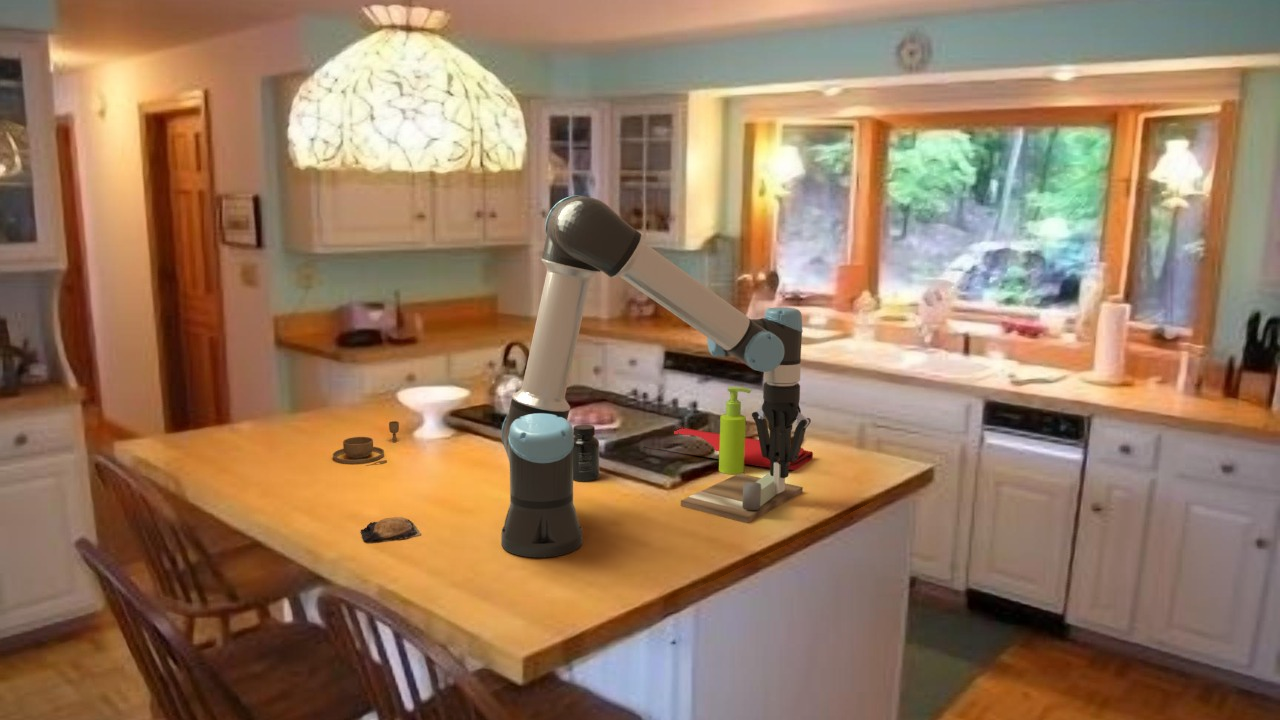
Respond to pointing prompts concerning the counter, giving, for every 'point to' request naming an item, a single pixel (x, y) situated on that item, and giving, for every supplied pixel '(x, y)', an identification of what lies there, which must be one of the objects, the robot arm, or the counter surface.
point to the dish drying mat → (748, 449)
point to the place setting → (363, 448)
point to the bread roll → (389, 530)
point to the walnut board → (735, 499)
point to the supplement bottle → (585, 453)
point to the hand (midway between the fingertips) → (778, 491)
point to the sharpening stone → (757, 492)
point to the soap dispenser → (732, 435)
